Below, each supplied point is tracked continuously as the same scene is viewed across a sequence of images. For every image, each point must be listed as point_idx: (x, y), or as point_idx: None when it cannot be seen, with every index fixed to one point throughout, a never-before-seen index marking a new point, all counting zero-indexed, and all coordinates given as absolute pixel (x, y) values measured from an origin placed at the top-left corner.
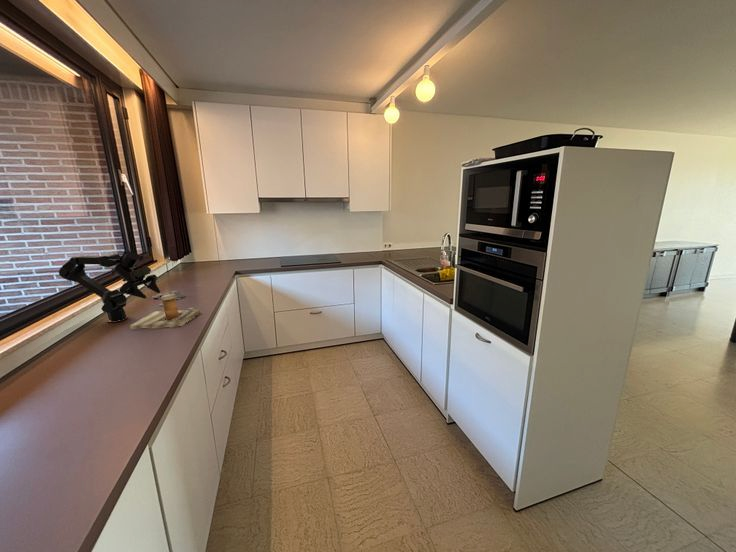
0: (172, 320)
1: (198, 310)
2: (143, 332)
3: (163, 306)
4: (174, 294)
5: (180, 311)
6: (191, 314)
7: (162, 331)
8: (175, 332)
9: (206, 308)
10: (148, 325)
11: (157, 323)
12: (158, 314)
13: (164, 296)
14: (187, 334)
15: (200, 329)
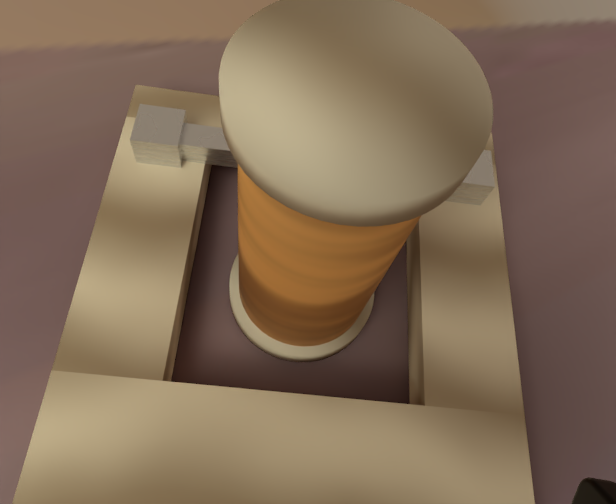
0: (490, 186)
1: (160, 88)
2: (602, 457)
3: (386, 260)
4: (250, 20)
5: (126, 258)
6: None
7: (567, 271)
8: (579, 160)
9: (3, 95)
10: (524, 450)
11: (495, 350)
12: None
13: (357, 146)
14: (603, 75)
15: (521, 27)
